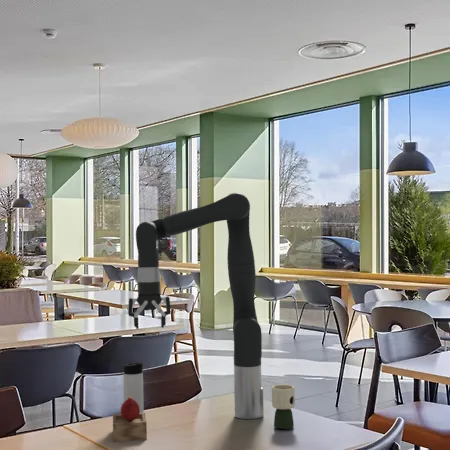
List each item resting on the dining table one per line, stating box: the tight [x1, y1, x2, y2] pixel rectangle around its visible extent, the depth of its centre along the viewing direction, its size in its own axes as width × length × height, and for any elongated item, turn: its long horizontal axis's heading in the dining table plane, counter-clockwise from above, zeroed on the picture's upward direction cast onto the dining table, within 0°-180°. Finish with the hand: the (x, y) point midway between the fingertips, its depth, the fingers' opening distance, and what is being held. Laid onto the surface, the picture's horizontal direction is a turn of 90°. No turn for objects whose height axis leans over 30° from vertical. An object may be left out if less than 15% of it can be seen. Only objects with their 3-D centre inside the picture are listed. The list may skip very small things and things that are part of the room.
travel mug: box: [123, 362, 145, 413], centre depth 211 cm, size 6×7×20 cm
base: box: [112, 412, 148, 443], centre depth 199 cm, size 10×10×5 cm
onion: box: [120, 396, 140, 422], centre depth 199 cm, size 6×6×8 cm
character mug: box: [271, 384, 296, 430], centre depth 204 cm, size 11×7×13 cm, turn 169°
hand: (149, 327), depth 220 cm, fingers open, 8 cm apart
